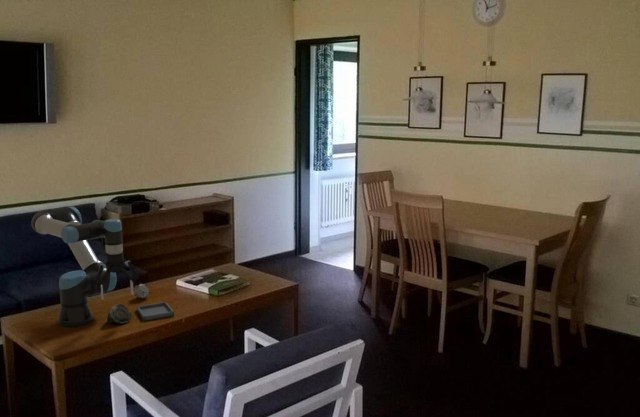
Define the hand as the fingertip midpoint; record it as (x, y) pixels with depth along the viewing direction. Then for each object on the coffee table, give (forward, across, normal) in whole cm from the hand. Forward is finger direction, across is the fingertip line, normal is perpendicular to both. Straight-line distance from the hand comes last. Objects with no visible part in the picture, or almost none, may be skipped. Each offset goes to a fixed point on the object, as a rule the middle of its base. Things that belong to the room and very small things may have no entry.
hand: (117, 296), depth 285 cm
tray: (+13, +18, +3) cm, 22 cm away
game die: (+13, +17, +28) cm, 35 cm away
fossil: (+13, 0, 0) cm, 13 cm away
